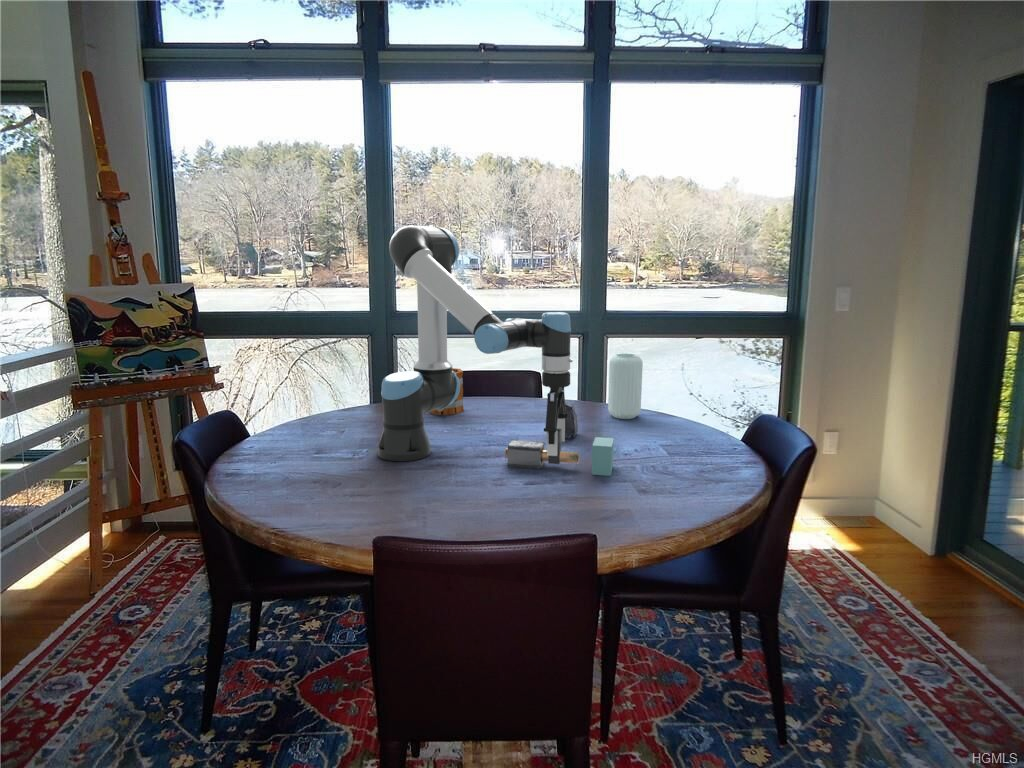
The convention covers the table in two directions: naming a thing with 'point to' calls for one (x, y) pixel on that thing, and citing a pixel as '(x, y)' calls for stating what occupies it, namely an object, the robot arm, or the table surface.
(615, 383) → the vase
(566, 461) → the hammer
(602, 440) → the socket
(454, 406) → the mug
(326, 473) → the table surface
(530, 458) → the sleeve
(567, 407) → the stone
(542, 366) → the robot arm
